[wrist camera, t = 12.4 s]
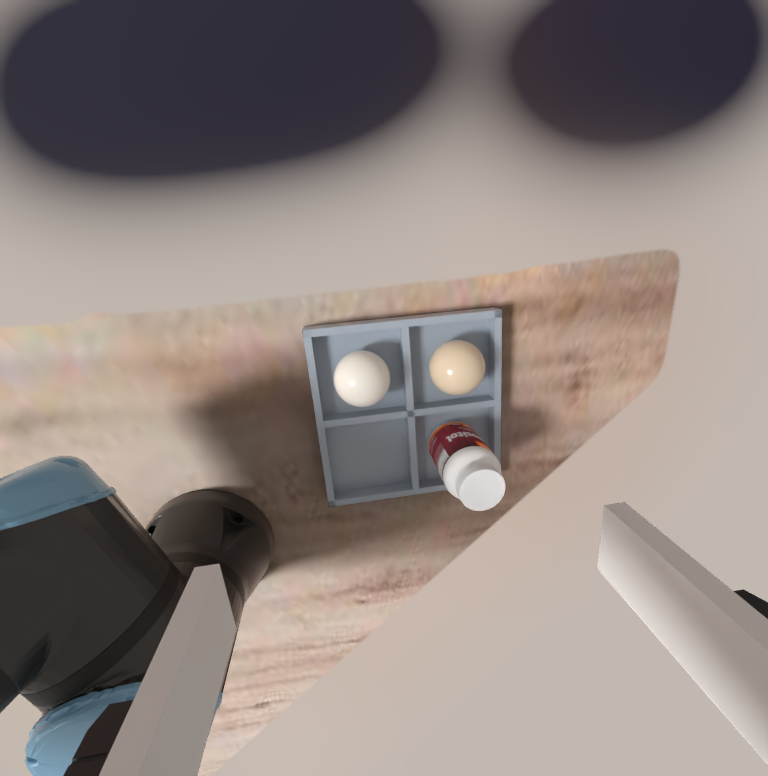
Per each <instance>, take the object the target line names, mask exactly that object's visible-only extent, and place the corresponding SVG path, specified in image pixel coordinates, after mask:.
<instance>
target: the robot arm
mask: <svg viewBox="0 0 768 776" xmlns="http://www.w3.org/2000/svg"><path fill="white" fill-rule="evenodd" d="M115 492H116V490H115V489H114V488H113V487H109V486H108V485H107V484H106V483H105V482H104V481H103V480H102V479H101V478H100V477H99V476H98V475H97V474H96V473H95V472H94V471H93V470H92V469H91V468H90V466H89V465H88V464H87V463H85V462H84V461H82V460H81V459H79V458H76V457H71V456H58V457H53V458H50V459H47V460H44V461H41V462H39V463H36V464H34V465H31V466H29V467H26V468H24V469H21V470H19V471H17V472H14V473H12V474H9V475H7V476H5V477H2V478H0V713H1V712H2V711H3V710H4V709H5V708H6V707H7V706H8V705H9V704H10V703H11V702H12V701H13V699H14V698H15V697H16V696H17V695H18V694H21V695H22V696H24V697H25V698H26V699H27V700H28V701H30V702H31V703H32V704H33V705H34V706H35V707H37V708H38V709H39V710H40V711H41V712H42V717H41V718H40V719H39V721H38V722H37V723H36V724H35V725H34V726H33V728H32V730H31V731H30V735H29V741H28V743H27V745H26V749H25V752H26V759H25V762H26V766H27V768H28V769H29V771H30V772H31V773H32V775H34V776H197V774H198V771H199V767H200V763H201V760H202V756H203V752H204V748H205V745H206V741H207V738H208V735H209V732H210V729H211V725H212V722H213V719H214V716H215V713H216V710H217V709H218V707H219V705H220V703H221V701H222V693H223V689H224V685H225V681H226V676H227V672H228V668H229V664H230V660H231V656H232V652H233V648H234V644H235V640H236V635H237V631H238V627H239V623H240V619H241V615H242V611H243V607H244V604H245V602H246V601H247V600H248V598H249V597H250V595H251V594H252V592H253V591H254V589H255V588H256V586H257V585H258V583H259V582H260V581H261V580H262V579H263V577H264V575H265V574H266V572H267V569H268V567H269V564H270V560H271V556H272V551H273V542H274V541H273V533H272V530H271V527H270V524H269V522H268V521H267V519H266V517H265V516H264V515H263V514H262V512H261V511H260V510H259V509H258V508H257V507H255V506H254V505H253V504H251V503H250V502H249V501H247V500H245V499H243V498H241V497H239V496H236V495H234V494H230V493H227V492H222V491H213V490H204V491H195V492H190V493H187V494H183V495H181V496H178V497H176V498H174V499H172V500H171V501H169V502H168V503H166V504H165V505H164V506H163V507H162V508H160V509H159V511H158V512H157V513H156V514H155V516H154V517H153V518H152V520H151V521H150V523H149V524H148V526H147V527H146V529H144V528H143V526H142V525H141V524H140V523H139V522H138V520H137V519H136V518H135V517H134V515H133V514H132V513H131V512H130V511H129V509H128V508H127V507H126V506H125V504H124V503H123V502H122V501H121V500H120V498H119V497H118V496H117V495H116V493H115ZM597 569H598V570H599V571H600V572H601V573H602V575H603V576H604V577H605V578H606V579H607V580H608V582H609V583H610V584H611V585H612V586H613V587H614V588H615V590H616V591H617V592H618V593H619V594H620V595H621V597H622V598H623V599H624V600H625V601H626V602H627V603H628V605H629V606H630V607H631V608H632V609H633V610H634V612H635V613H636V614H637V615H638V616H639V617H640V618H641V620H642V621H643V622H644V623H645V624H646V625H647V627H648V628H649V629H650V630H651V631H652V632H653V633H654V635H655V636H656V637H657V638H658V639H659V640H660V642H661V643H662V644H663V645H664V646H665V647H666V648H667V650H668V651H669V652H670V653H671V654H672V655H673V657H674V658H675V659H676V660H677V661H678V662H679V664H680V665H681V666H682V667H683V668H684V669H685V670H686V672H687V673H688V674H689V675H690V676H691V677H692V678H693V680H694V681H695V682H696V683H697V684H698V685H699V687H700V688H701V689H702V690H703V691H704V692H705V694H706V695H707V696H708V697H709V698H710V699H711V700H712V702H713V703H714V704H715V705H716V706H717V707H718V709H719V710H720V711H721V712H722V713H723V714H724V715H725V717H726V718H727V719H728V720H729V721H730V722H731V724H732V725H733V726H734V727H735V728H736V729H737V730H738V732H739V733H740V734H741V735H742V736H743V737H744V739H745V740H746V741H747V742H748V743H749V744H750V745H751V747H752V748H753V749H754V750H755V751H756V752H757V754H758V755H759V756H760V757H761V758H762V759H763V760H764V761H765V763H766V764H767V765H768V602H766V601H764V600H762V599H760V598H758V597H757V596H755V595H753V594H751V593H749V592H747V591H745V590H738V591H733V590H731V589H730V588H729V587H728V586H726V585H725V584H724V583H723V582H722V581H720V580H719V579H718V578H717V577H715V576H714V575H713V574H712V573H711V572H709V571H708V570H707V569H706V568H704V567H703V566H702V565H701V564H699V563H698V562H697V561H696V560H695V559H693V558H692V557H691V556H690V555H689V554H687V553H686V552H685V551H684V550H682V549H681V548H680V547H679V546H677V545H676V544H675V543H674V542H673V541H671V540H670V539H669V538H668V537H667V536H665V535H664V534H663V533H662V532H660V531H659V530H658V529H657V528H656V527H654V526H653V525H652V524H651V523H649V522H648V521H647V520H646V519H645V518H643V517H642V516H641V515H640V514H638V513H637V512H636V511H635V510H633V509H632V508H631V507H630V506H629V505H627V504H626V503H625V502H624V503H617V504H610V505H605V506H604V512H603V521H602V531H601V539H600V548H599V557H598V566H597Z"/></svg>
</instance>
